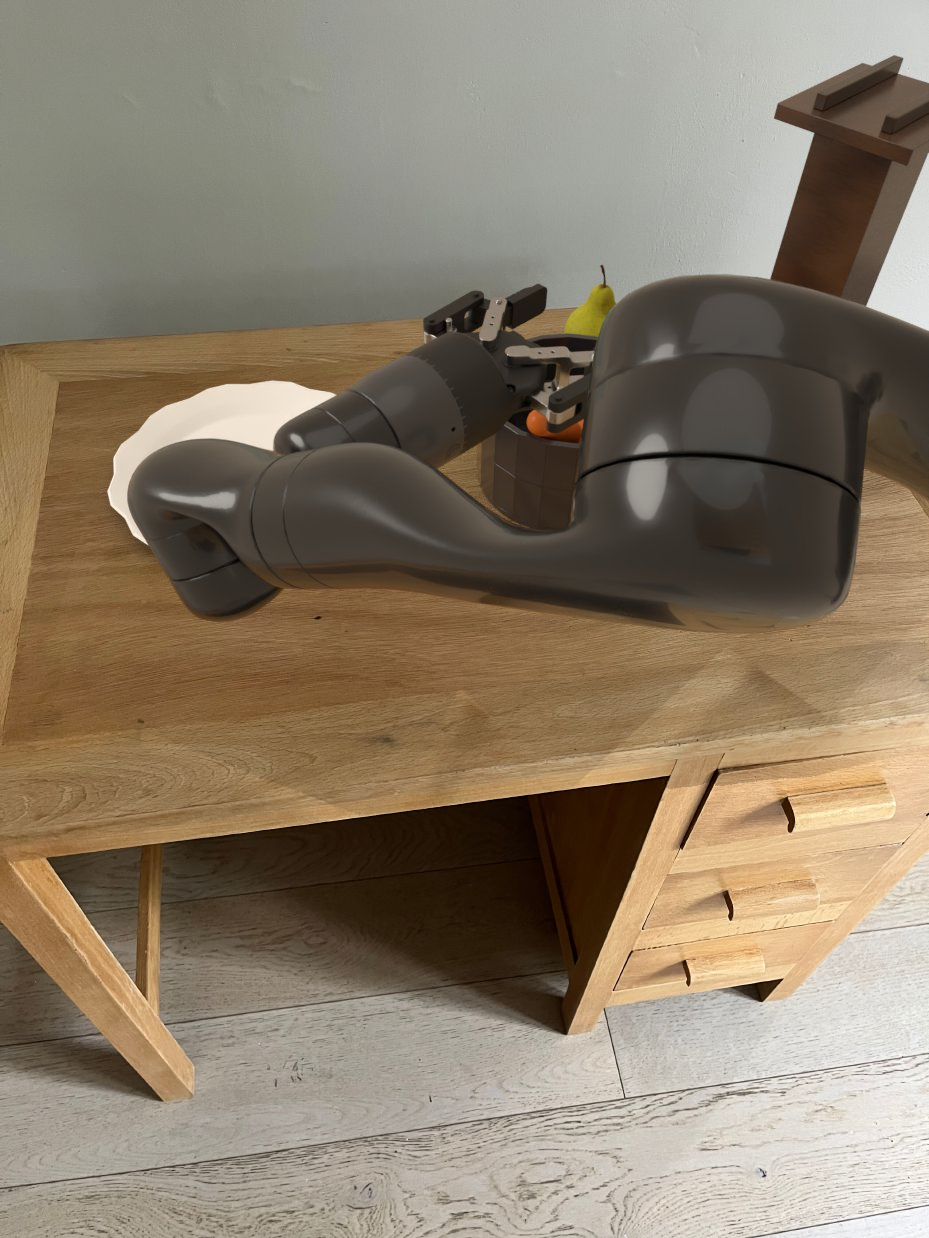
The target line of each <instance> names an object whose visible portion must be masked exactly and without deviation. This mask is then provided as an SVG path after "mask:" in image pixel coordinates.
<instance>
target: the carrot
mask: <svg viewBox="0 0 929 1238" xmlns="http://www.w3.org/2000/svg"><path fill="white" fill-rule="evenodd" d="M583 421H584V419H583V420H581V421H580V422H578V423H576V424H574V425H573V426H571V427H569V428H567V429H565V430H564V431H562V432H560V433H551V432H549V431H548V430H547V429H546V422H547V418H545V417H544V416H543V415H541V414H540V413H538V412H537V411H536V410H533V411H532V412H531V413H530V414H529V415H528V417H527V427H528V429H529V431H530V432H531V433H533V434H534V435H537V436H540V437H542V438H545V439H548V440H552V441H561V442H569V443H577V444H580V442H581V435H582V428H583Z"/></svg>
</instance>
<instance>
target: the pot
mask: <svg viewBox="0 0 929 1238" xmlns="http://www.w3.org/2000/svg"><path fill="white" fill-rule="evenodd" d="M525 339H526V340H527V341H530V342H533V343H536V344H538V345H539V346H541V347H559V346H564V347H567V348H568V350H569V351H570V352H581V351H593V348H594V347H596V342H597V339H598V337H596V336H589V335H580V334H571V333H569V334H568V333H566V334H564V333H555V334H554V333H553V334H552V333H551V334H541V335H537V336H534V337H529V338H525ZM556 365H557V364H555V363H553V364H547V373H546V379H545V383H547V382H551V381H553V380H554V379H555V375H556ZM584 369H585V367H579V368H572V369H571V370H570V375H569V376H575V375H584ZM533 410H534V409H532V410H528V411H522V412H518V413H515V414H513V415H512V416H511V417H510V418H509V420H508V421H507V422H506V423H505V424H504V426H503V427H502V428H501V429H500V430H499V431H498V432H497V433H495V434H494V435H492V436H490V437H489V438H487V439H486V440H484V441H482V442H481V443H479V444H478V445H477V451H476V452H477V453H476V470H477V478H478V482H479V486H480V489H481V491H482V492H483V495H484V496H485V498H486V499H487V501H488V502H489V503H490V505H492V506H493V507H494V508H495V510H497V511H498V512H499V513H500V514H502V515H504V516H505V517H506V518H508V520H510V521H513V522H514V523H516V524H518V525H520V526H523V527H527V528H532V529H539V530H561V529H564V528H566V527H567V526H569V524H570V519H571V507H572V498H573V492H574V488H575V477H576V470H577V463H578V456H579V449H580V444H577V443H569V442H561V441H552V440H548V439H545V438H542V437H540V436H537V435H534V434H533V433H531V432H530V431H529V429H528V427H527V417H528V415H529V414H530V413H531V412H532V411H533Z"/></svg>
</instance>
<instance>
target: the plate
mask: <svg viewBox="0 0 929 1238" xmlns="http://www.w3.org/2000/svg"><path fill="white" fill-rule="evenodd" d="M336 395H337V394H336V393H333V392H330V391H324V390H318V389H311V388H308V387H306V386H303V385H301V384H298V383H296V382H293V381H283V380H266V381H261V382H254V383H226V384H225V383H224V384H222V385H217V386H214V387H208V388H206V389H204V390H202V391H201V392H199V393H197V394H195V395H193V396H191V397H189V398H186V399H183V400H180V401H176V402H174V403H170V404H167V405H165V406H163V407H161V408H160V409H159V410H157V411H156V412H154V413H152V414H151V415H149V417H147V419H146V420H145V422H144V423H143V424H142V425H141V426H140V428H139V429H138V430H137V431H136V432H135V433H134V434H132V435H131V436H130V437H128V439H126V440H125V441H123V442H122V443H121V444H120V445H119V448H118V449H117V451H116V453H115V454H114V456H113V462H112V463H113V476H112V478H111V481H110V483H109V486H108V489H107V491H106V493H107V496H108V500H109V504H110V507H111V508H112V509H113V510H114V511H115V512H116V513H118V514H119V515H120V517H122V518H123V519H124V520H125V522H126V524H127V526H128V528H129V530H130V532H131V534H132V537H134V538H135V539H136V540H138V541H139V542H141V543H143V544H144V545H145V546H147V547H149V545H148V544H147V542H146V540H145V539H144V537H143V535H142V534H141V532H140V530H139V529H138V527H137V525H136V524H135V522H134V520H133V518H132V516H131V513H130V510H129V507H128V502H127V491H128V485H129V482H130V479H131V477H132V474H133V473H134V471H135V469H136V468H137V467H138V465H139V464H140V463H141V462H142V461H143V460H144V459H145V458H146V457H148V456H149V455H150V454H152V453H153V452H155V451H157V450H159V449H161V448H163V447H165V446H168V445H170V444H173V443H176V442H180V441H185V440H191V439H206V438H215V439H225V440H231V441H236V442H240V443H245V444H248V445H252V446H256V447H260V448H264V449H268V450H273V440H274V436H275V434H276V432H277V431H278V429H279V428H280V427H281V426H282V425H284V424H285V423H286V422H288V421H289V420H291V419H293V418H294V417H296V416H298V415H300V414H302V413H304V412H306V411H307V410H310V409H311V408H313V407H315V406H317V405H319V404H321V403H323V402H325V401H327V400H329V399H330V398H332V397H334V396H336Z"/></svg>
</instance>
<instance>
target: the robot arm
mask: <svg viewBox="0 0 929 1238" xmlns="http://www.w3.org/2000/svg"><path fill="white" fill-rule="evenodd" d="M547 300H548V288H547V287H546V286H544V285H542V284H541V283H536V284H534V285H533V286H527V287H524V288H522V289H520V290H519V291H518V290H517V291H516V292H515V293H514V292H513V293H512V294H510V295H508V296H507V297H503V296H495V297H492V298H491V299H488V298H485V293H484V292H483V291H481V290H471V291H469V292H467V293H465V294H464V295H461V296H460V297H458V298H456V299H455V300H453V301H451V302H450V303H448V304H446V305H445V306H442V307H441V308H439V309H437V310H436V311H433V312H432V313H430V314H429V315H427V316H425V317H424V318H423V319H422V322H423V323H422V325H423V329H422V334H423V344H422V345H420V346H418V347H416V348H414V349H413V350H411V351H409V352H407V353H405V354H403V355H401V356H400V357H397V358H395V359H393V360H392V361H389V362H388V363H386V364H384V365H382V366H380V367H378V368H377V369H374V370H372V371H371V372H370V373H367V374H366V375H364V376H363V377H362V378H361V379H360V380H358V381H356V383H354V384H353V385H352V386H350V387H348V388H346V389H345V390H343V391H342V392H339V393H338V394H336V396H334V397H332V398H330V399H329V400H327V401H325V402H323V403H321V404H319V405H317V406H315V407H313V408H311V409H310V410H307V411H306V412H304V413H302V414H300V415H298V416H296V417H294V418H293V419H291V420H289V421H288V422H286V423H285V424H284V425H282V426H281V427H280V428H279V429H278V431H277V432H276V434H275V436H274V440H273V450H268V449H264V448H260V447H256V446H252V445H248V444H245V443H240V442H236V441H231V440H225V439H215V438H206V439H191V440H185V441H180V442H176V443H173V444H170V445H168V446H165V447H163V448H161V449H159V450H157V451H155V452H153V453H152V454H150V455H149V456H148V457H146V458H145V459H144V460H143V461H142V462H141V463H140V464H139V465H138V467H137V468H136V469H135V471H134V473H133V474H132V477H131V479H130V482H129V485H128V491H127V502H128V507H129V510H130V513H131V516H132V518H133V520H134V522H135V524H136V525H137V527H138V529H139V530H140V532H141V534H142V535H143V537H144V539H145V540H146V542H147V544H148V545H149V546H148V548H149V549H150V551H151V552H152V554H153V555H154V558H155V559H156V561H157V562H158V564H159V566H160V567H161V569H162V571H163V572H164V575H165V576H166V577H167V579H168V581H169V583H170V584H171V586H172V588H173V590H174V591H175V594H176V595H177V596H178V598H179V600H180V601H181V603H182V604H183V605H184V607H185V608H186V609H187V611H188V612H189V613H190V614H192V615H193V616H194V617H196V618H198V619H200V620H204V621H207V622H214V623H223V622H224V623H225V622H226V623H227V622H233V621H237V620H241V619H244V618H246V617H249V616H251V615H254V614H255V613H257V612H259V611H260V610H262V609H263V608H264V607H266V606H267V605H269V604H270V603H272V601H274V600H275V599H276V598H277V597H278V596H279V595H280V594H281V593H282V592H283V591H284V590H298V591H299V590H301V591H303V590H304V591H305V590H307V591H310V590H316V591H317V590H361V589H362V590H363V589H364V590H365V589H367V590H368V589H369V590H388V591H389V590H391V591H399V592H407V593H408V592H409V593H417V594H422V595H428V596H434V597H439V598H445V599H451V600H457V601H462V602H467V603H471V604H473V603H474V604H480V605H485V606H493V607H498V608H499V607H500V608H504V609H505V608H506V609H512V610H519V611H525V612H532V613H541V614H548V615H555V616H562V617H563V616H564V617H569V618H570V617H571V618H576V619H584V620H590V621H591V620H593V621H600V622H608V623H614V624H621V625H622V624H623V625H628V626H629V625H630V626H637V627H644V628H652V629H661V630H670V631H680V632H681V631H684V632H694V633H712V634H713V633H715V634H716V633H717V634H757V633H769V632H770V633H771V632H779V631H785V630H786V631H787V630H794V629H798V628H801V627H806V626H809V625H812V624H815V623H818V622H820V621H822V620H823V619H825V618H827V617H828V616H831V615H832V614H833V613H835V612H836V611H837V610H838V609H839V608H840V607H841V606H843V604H844V603H845V601H846V600H847V598H848V596H849V593H850V590H851V587H852V585H853V579H854V573H855V568H856V567H855V566H856V564H857V563H856V562H857V552H858V545H859V544H858V543H859V537H860V536H859V535H860V527H861V526H860V525H861V516H862V508H861V507H862V497H863V496H862V495H863V484H864V476H865V475H864V474H865V470H866V471H868V472H870V473H874V474H876V475H878V476H881V477H884V478H886V479H888V480H890V481H892V482H894V483H895V484H898V485H900V486H902V487H903V488H905V489H907V490H909V491H910V492H912V493H913V494H915V495H917V496H918V497H920V498H921V499H923V500H925V502H927V503H929V330H928V329H926V328H924V327H920V326H918V325H915V324H913V323H911V322H908V321H907V320H906V321H905V320H903V319H901V318H898V317H895V316H893V315H890V314H887V313H885V312H882V311H880V310H877V309H875V308H872V307H869V306H867V305H866V306H864V305H861V304H858V303H856V302H853V301H850V300H847V299H844V298H841V297H838V296H835V295H832V294H829V293H825V292H822V291H818V290H814V289H810V288H807V287H803V286H799V285H795V284H791V283H787V282H783V281H778V280H773V279H770V278H765V277H759V276H753V275H752V276H751V275H750V276H749V275H741V274H732V273H712V274H710V273H709V274H688V275H678V276H674V277H668V278H664V279H659V280H656V281H652V282H650V283H647V284H645V285H643V286H641V287H639V288H636V289H634V290H632V291H630V292H628V293H627V294H626V295H625V296H624V297H622V298H621V299H620V300H619V301H618V302H616V303H617V304H616V305H615V306H614V307H613V308H612V309H611V310H610V311H609V313H608V314H607V316H606V318H605V320H604V321H603V323H602V326H601V329H600V332H599V336H598V339H597V342H596V347H594V348H593V351H581V352H570V351H569V350H568V348H567V347H564V346H559V347H541V346H539V345H538V344H536V343H533V342H530V341H527V340H526V339H527V338H525V337H524V336H523V335H522V334H520V333H519V332H517V331H516V330H514V329H516V328H518V327H520V326H522V325H523V324H525V323H528V322H529V321H531V320H533V319H535V318H536V317H538V316H540V315H542V314H543V313H544V312H545V311H546V308H547V302H548V301H547ZM466 314H468V315H467V316H466ZM465 316H466V317H465ZM506 327H507V328H509V329H510V330H511V331H508V330H506V329H507V328H506ZM478 329H480V330H479V331H476V330H478ZM553 363H555V364H557V365H556V375H555V379H554V380H553V381H551V382H547V383H545V379H546V373H547V364H553ZM579 367H585V369H584V375H575V376H569V375H570V370H571V369H572V368H579ZM532 409H534V410H536V411H537V412H538V413H540V414H541V415H543V416H544V417H545V418H547V422H546V429H547V430H548V431H549V432H551V433H560V432H562V431H564V430H565V429H567V428H569V427H571V426H573V425H574V424H576V423H578V422H580V421H581V420H583V419H584V421H583V428H582V435H581V442H580V449H579V456H578V463H577V470H576V477H575V488H574V492H573V498H572V507H571V519H570V524H569V526H567V527H566V528H564V529H561V530H539V529H532V528H529V527H526V526H524V525H521V524H518V523H516V522H514V521H513V522H512V521H511V520H509V519H507V518H504V517H502V515H499V514H498V513H496V512H495V511H494V510H492V509H489V508H488V507H486V506H485V505H484V504H482V503H481V502H480V501H479V500H478V499H476V498H474V497H473V496H472V495H471V494H469V493H468V492H467V491H466V490H464V489H463V488H462V487H461V486H460V485H458V484H457V483H456V482H455V481H453V479H451V478H450V477H449V476H447V475H446V474H444V473H443V472H442V471H441V470H439V469H440V468H441V467H444V466H445V465H447V464H448V463H450V462H452V461H453V460H455V459H456V458H458V457H460V456H461V455H463V454H464V453H466V452H468V451H469V450H471V449H472V448H474V447H476V446H478V444H479V443H481V442H482V441H484V440H486V439H487V438H489V437H490V436H492V435H494V434H495V433H497V432H498V431H499V430H500V429H501V428H502V427H503V426H504V424H505V423H506V422H507V421H508V420H509V418H510V417H511V416H512V415H513V414H515V413H518V412H522V411H528V410H532Z"/></svg>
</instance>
